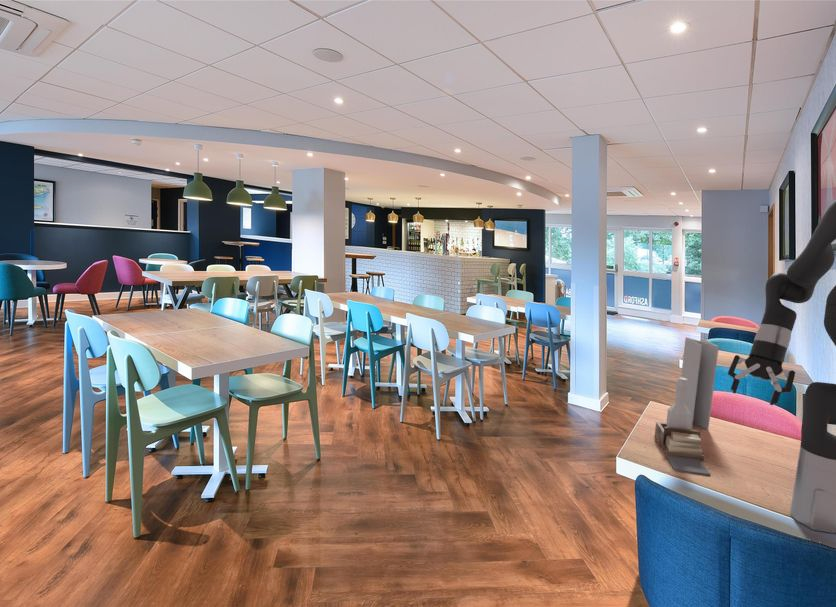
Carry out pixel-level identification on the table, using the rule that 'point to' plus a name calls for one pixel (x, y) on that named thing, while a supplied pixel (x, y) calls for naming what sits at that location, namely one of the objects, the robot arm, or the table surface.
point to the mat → (687, 465)
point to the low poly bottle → (679, 407)
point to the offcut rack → (679, 441)
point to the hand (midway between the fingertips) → (752, 398)
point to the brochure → (699, 378)
